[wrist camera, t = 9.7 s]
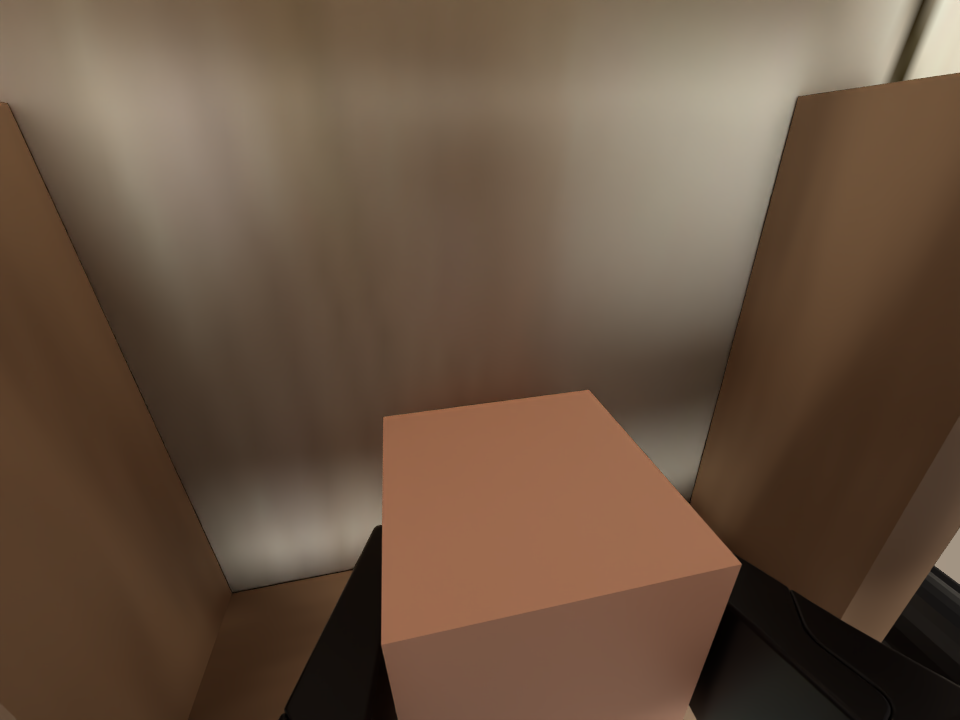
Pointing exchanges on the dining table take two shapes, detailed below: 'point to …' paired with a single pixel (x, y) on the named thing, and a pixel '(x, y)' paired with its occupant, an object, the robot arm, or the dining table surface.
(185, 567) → the brown shallow open box
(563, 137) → the dining table surface
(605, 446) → the block
